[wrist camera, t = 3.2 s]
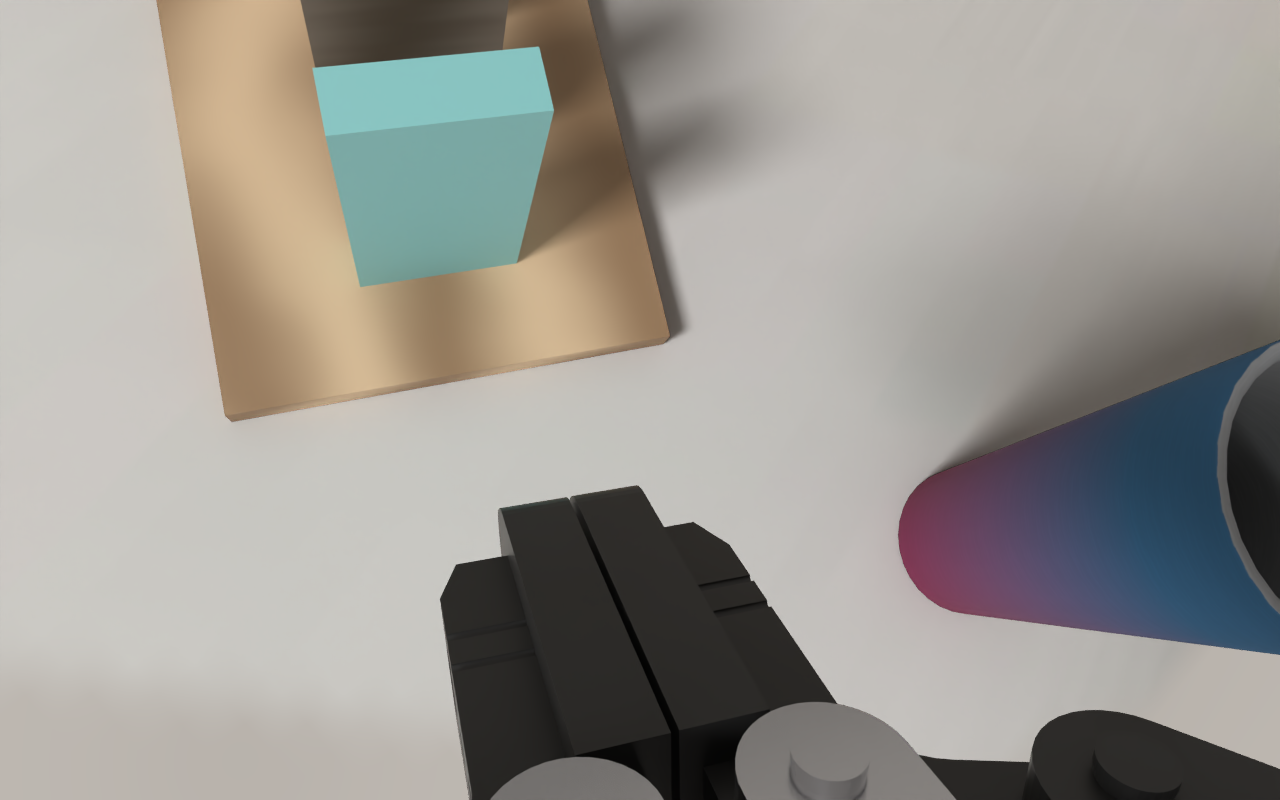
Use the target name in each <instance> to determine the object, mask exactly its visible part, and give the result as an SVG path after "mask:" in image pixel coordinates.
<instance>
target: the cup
mask: <svg viewBox="0 0 1280 800" xmlns="http://www.w3.org/2000/svg"><path fill="white" fill-rule="evenodd" d="M898 538H899V549H900V553H901V557H902V560H903V564H904V566H905V568H906V570H907V572H908V574H909V577H910V578H911V579H912V581H913V582H914V584H915V585H916V587H917V588H918V589H919V590H920V591H921V592H922V593H923V594H924V595H925V596H926V597H927V598H928V599H930V600H931V601H933V602H934V603H936V604H937V605H939V606H940V607H943V608H945V609H948V610H950V611H953V612H958V613H964V614H971V615H979V616H986V617H994V618H1002V619H1009V620H1017V621H1025V622H1032V623H1040V624H1048V625H1055V626H1063V627H1071V628H1078V629H1086V630H1094V631H1101V632H1109V633H1117V634H1124V635H1132V636H1140V637H1147V638H1155V639H1163V640H1170V641H1178V642H1186V643H1193V644H1201V645H1209V646H1216V647H1224V648H1232V649H1239V650H1247V651H1255V652H1263V653H1270V654H1278V655H1280V340H1278V341H1276V342H1273V343H1270V344H1268V345H1265V346H1263V347H1260V348H1258V349H1255V350H1253V351H1250V352H1247V353H1245V354H1242V355H1240V356H1237V357H1235V358H1232V359H1230V360H1227V361H1224V362H1222V363H1219V364H1217V365H1214V366H1212V367H1209V368H1206V369H1204V370H1201V371H1199V372H1196V373H1194V374H1191V375H1189V376H1186V377H1183V378H1181V379H1178V380H1176V381H1173V382H1171V383H1168V384H1166V385H1163V386H1160V387H1158V388H1155V389H1153V390H1150V391H1148V392H1145V393H1142V394H1140V395H1137V396H1135V397H1132V398H1130V399H1127V400H1125V401H1122V402H1119V403H1117V404H1114V405H1112V406H1109V407H1107V408H1104V409H1101V410H1099V411H1096V412H1094V413H1091V414H1089V415H1086V416H1084V417H1081V418H1078V419H1076V420H1073V421H1071V422H1068V423H1066V424H1063V425H1061V426H1058V427H1055V428H1053V429H1050V430H1048V431H1045V432H1043V433H1040V434H1037V435H1035V436H1032V437H1030V438H1027V439H1025V440H1022V441H1020V442H1017V443H1014V444H1012V445H1009V446H1007V447H1004V448H1002V449H999V450H997V451H994V452H991V453H989V454H986V455H984V456H981V457H979V458H976V459H973V460H971V461H968V462H966V463H963V464H961V465H958V466H956V467H953V468H950V469H948V470H945V471H943V472H940V473H938V474H936V475H934V476H932V477H929V478H927V479H926V480H925V481H924V482H922V483H921V484H920V485H919V486H917V488H916V489H915V490H914V491H913V492H912V494H911V495H910V496H909V498H908V500H907V502H906V504H905V506H904V508H903V511H902V515H901V518H900V522H899V533H898Z"/></svg>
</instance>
